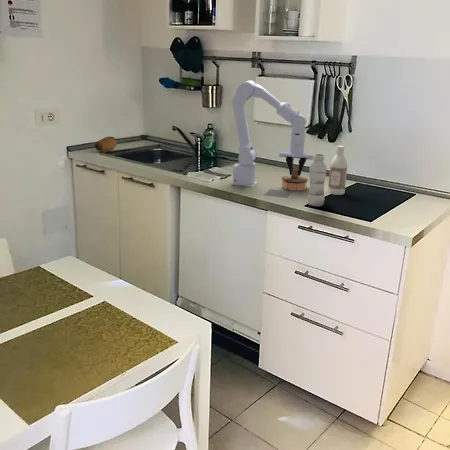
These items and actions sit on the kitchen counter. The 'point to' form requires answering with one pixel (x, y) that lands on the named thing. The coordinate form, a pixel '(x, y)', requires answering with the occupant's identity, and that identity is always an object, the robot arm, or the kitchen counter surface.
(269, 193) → the mat
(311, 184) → the plastic bottle
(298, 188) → the bowl
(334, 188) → the bath foam
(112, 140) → the potato
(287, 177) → the lid
